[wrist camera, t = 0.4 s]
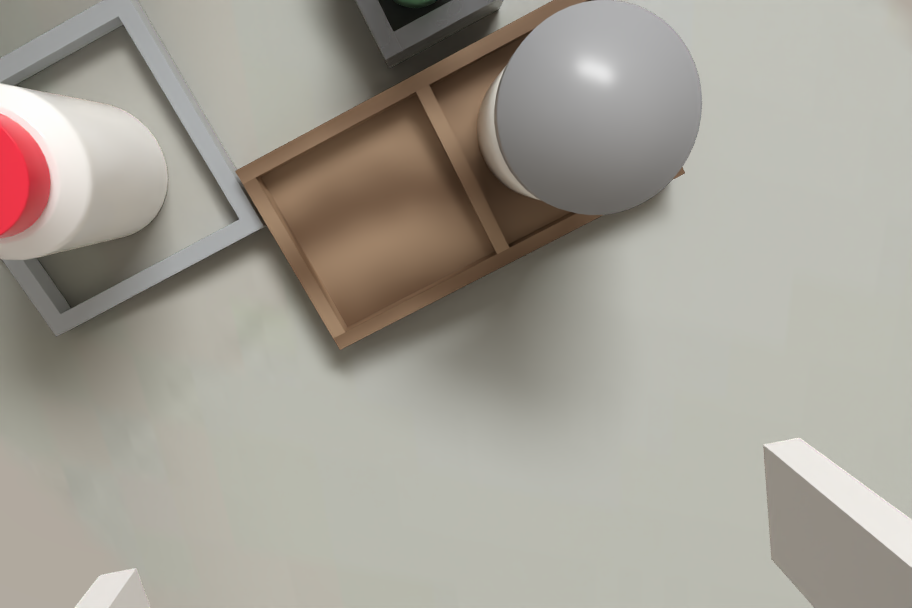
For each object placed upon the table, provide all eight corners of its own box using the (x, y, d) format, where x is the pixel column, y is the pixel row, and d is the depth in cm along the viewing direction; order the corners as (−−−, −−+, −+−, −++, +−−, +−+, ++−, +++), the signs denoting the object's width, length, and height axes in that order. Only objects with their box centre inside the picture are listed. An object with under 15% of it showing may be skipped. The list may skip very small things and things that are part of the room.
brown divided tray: (245, 170, 35) (235, 171, 33) (593, -16, 34) (603, -27, 32) (344, 340, 38) (339, 350, 36) (671, 172, 37) (685, 173, 35)
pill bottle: (137, 262, 36) (17, 302, 26) (9, 199, 35) (-173, 213, 24) (190, 144, 35) (87, 135, 24) (59, 75, 34) (-111, 33, 23)
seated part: (450, 94, 34) (462, 62, 24) (581, 24, 34) (654, -41, 23) (513, 224, 36) (551, 249, 25) (639, 160, 36) (731, 157, 25)
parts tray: (-82, 116, 34) (-101, 114, 33) (134, -6, 33) (123, -12, 32) (67, 331, 37) (56, 336, 36) (269, 224, 36) (263, 226, 35)
